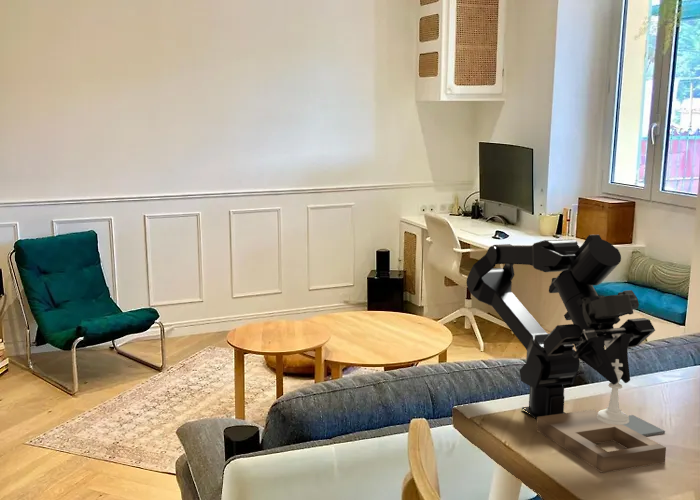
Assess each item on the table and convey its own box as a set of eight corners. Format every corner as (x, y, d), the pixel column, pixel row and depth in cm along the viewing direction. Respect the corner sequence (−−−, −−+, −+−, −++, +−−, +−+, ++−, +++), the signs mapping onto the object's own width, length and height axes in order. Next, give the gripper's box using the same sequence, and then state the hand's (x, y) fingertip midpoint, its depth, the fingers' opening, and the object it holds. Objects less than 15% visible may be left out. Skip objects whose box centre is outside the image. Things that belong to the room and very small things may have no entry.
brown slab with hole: (536, 430, 123) (537, 416, 123) (592, 422, 127) (593, 409, 127) (602, 472, 107) (603, 457, 107) (664, 462, 111) (666, 447, 111)
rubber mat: (597, 421, 128) (597, 419, 128) (632, 416, 130) (632, 414, 130) (628, 438, 120) (628, 436, 120) (664, 433, 123) (665, 430, 123)
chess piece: (632, 426, 111) (636, 365, 109) (599, 423, 112) (603, 363, 110) (625, 414, 116) (630, 356, 114) (594, 412, 117) (598, 354, 115)
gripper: (558, 276, 111) (600, 363, 102) (651, 271, 117) (698, 352, 109) (526, 313, 119) (563, 397, 111) (615, 306, 126) (656, 385, 117)
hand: (621, 382), depth 111 cm, fingers closed on chess piece
